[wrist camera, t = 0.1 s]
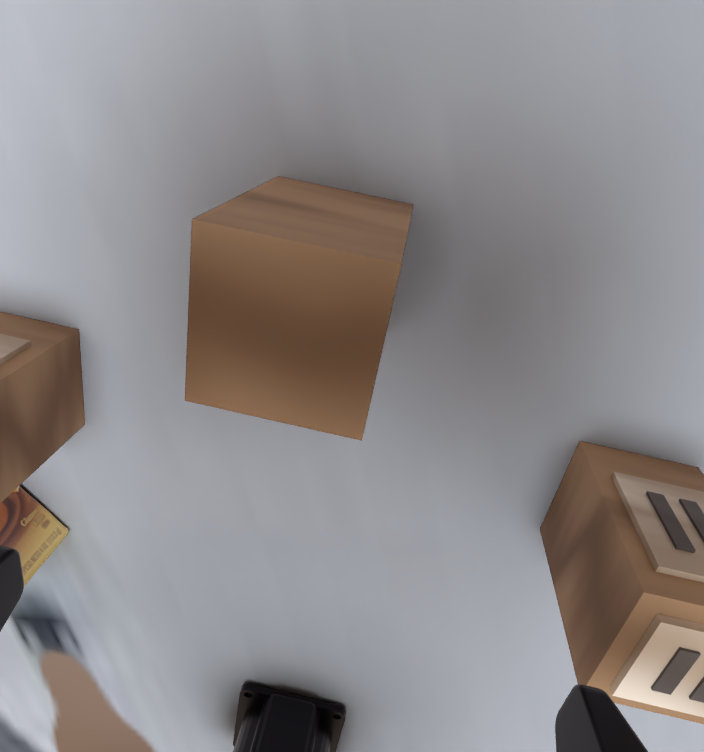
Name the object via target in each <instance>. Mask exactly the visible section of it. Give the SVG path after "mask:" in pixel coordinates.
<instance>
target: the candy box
mask: <svg viewBox="0 0 704 752" xmlns="http://www.w3.org/2000/svg"><path fill="white" fill-rule="evenodd" d="M67 534H68V529H67V528H66V527H65V526H63V525H62V524H61V523H60V522H59V521H58V520H57V519H56V518H55V517H54V516H53V515H52V514H51V513H50V512H49V511H48V510H47V509H45V508H44V507H43V506H42V505H41V504H40V503H38V502H37V501H36V500H35V499H34V498H32V497H31V496H30V495H29V494H28V493H27V492H25V491H24V490H23V489H22V488H21V487H20V486H18V487H17V488H16V489H15V490H14V491H13V492H12V493H11V494H10V495H9V496H8V497H7V498H5V499H4V500H3V501H2V502H1V503H0V545H2V546H6V547H10V548H14V549H16V550H17V551H18V552H19V554H20V560H21V566H22V573H23V579H24V586H25V585H26V583H27V582H28V581H29V580H30V578H31V577H32V576H33V575H34V574H35V572H36V571H37V570H38V569H39V568H40V566H41V565H42V564H43V563H44V562H45V560H46V559H47V558H48V557H49V556H50V554H51V553H52V552H53V551H54V550H55V548H56V547H57V546H58V545H59V544H60V542H61V541H62V540H63V539H64V538H65V536H66V535H67Z"/></svg>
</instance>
